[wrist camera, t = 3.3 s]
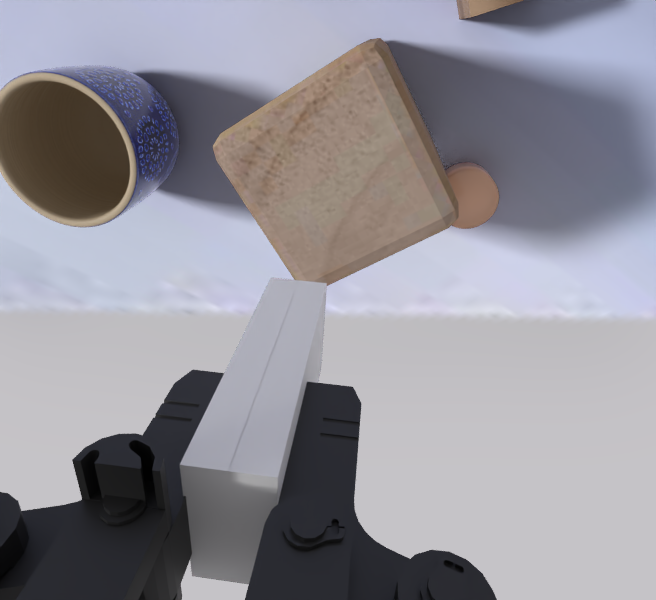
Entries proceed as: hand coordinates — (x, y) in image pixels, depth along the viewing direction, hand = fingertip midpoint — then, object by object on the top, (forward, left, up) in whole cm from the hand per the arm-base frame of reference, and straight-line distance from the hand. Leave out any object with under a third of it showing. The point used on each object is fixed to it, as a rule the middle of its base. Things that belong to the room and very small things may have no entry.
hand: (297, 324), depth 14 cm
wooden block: (0, 0, -33) cm, 33 cm away
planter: (-20, -2, -33) cm, 39 cm away
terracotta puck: (+10, -5, -33) cm, 35 cm away
